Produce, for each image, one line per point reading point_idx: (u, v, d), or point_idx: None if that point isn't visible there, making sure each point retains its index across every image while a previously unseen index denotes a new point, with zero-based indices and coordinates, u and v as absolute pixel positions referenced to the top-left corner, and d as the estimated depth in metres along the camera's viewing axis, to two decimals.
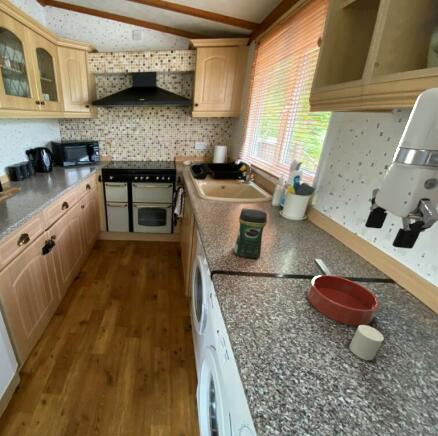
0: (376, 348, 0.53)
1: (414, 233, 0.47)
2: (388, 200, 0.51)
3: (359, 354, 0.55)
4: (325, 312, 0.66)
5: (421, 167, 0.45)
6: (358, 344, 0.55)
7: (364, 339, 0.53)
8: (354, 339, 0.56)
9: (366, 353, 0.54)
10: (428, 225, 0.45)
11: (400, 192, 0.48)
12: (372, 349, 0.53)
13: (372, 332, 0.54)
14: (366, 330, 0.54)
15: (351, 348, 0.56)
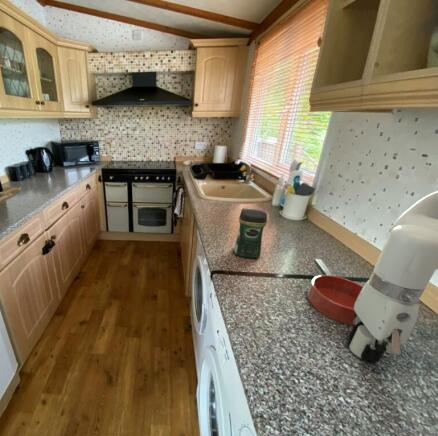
0: None
1: (379, 351, 0.51)
2: (365, 316, 0.53)
3: (359, 354, 0.55)
4: (325, 312, 0.66)
5: (394, 300, 0.47)
6: (358, 344, 0.55)
7: (364, 339, 0.53)
8: (354, 339, 0.56)
9: None
10: None
11: (375, 315, 0.50)
12: None
13: None
14: (366, 330, 0.54)
15: (351, 348, 0.56)
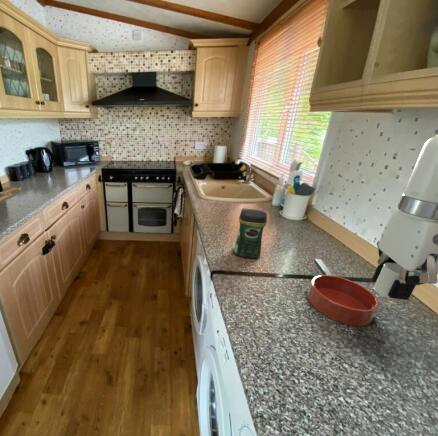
0: None
1: (410, 286, 0.46)
2: (393, 249, 0.47)
3: (386, 293, 0.49)
4: (325, 312, 0.66)
5: (429, 220, 0.41)
6: (385, 282, 0.49)
7: (391, 275, 0.48)
8: (379, 278, 0.50)
9: None
10: (423, 282, 0.44)
11: (406, 243, 0.45)
12: None
13: None
14: (393, 266, 0.49)
15: (376, 289, 0.51)
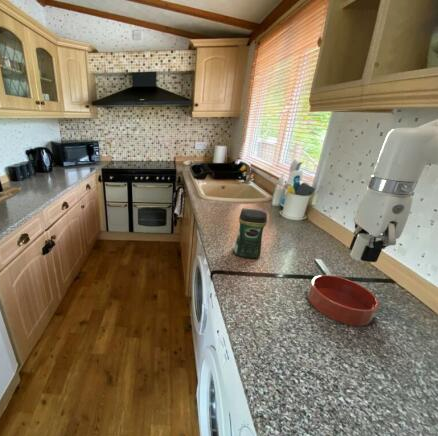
0: None
1: (377, 250, 0.57)
2: (364, 220, 0.59)
3: (359, 257, 0.60)
4: (325, 312, 0.66)
5: (390, 194, 0.52)
6: (358, 248, 0.60)
7: (363, 242, 0.59)
8: (354, 246, 0.62)
9: None
10: (386, 245, 0.55)
11: (373, 214, 0.56)
12: None
13: None
14: (365, 236, 0.60)
15: (352, 255, 0.62)
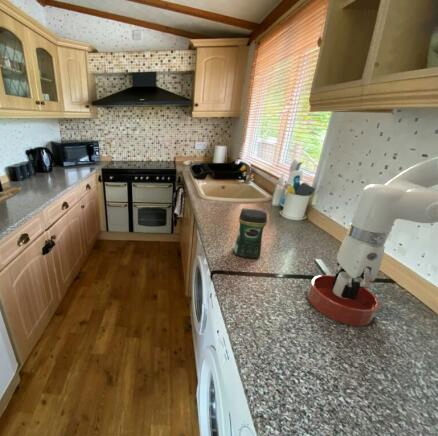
0: None
1: (355, 289, 0.64)
2: (344, 262, 0.65)
3: (340, 294, 0.67)
4: (325, 312, 0.66)
5: (365, 243, 0.59)
6: (339, 286, 0.67)
7: (343, 281, 0.66)
8: (336, 283, 0.68)
9: None
10: (362, 286, 0.61)
11: (351, 258, 0.62)
12: None
13: None
14: (345, 275, 0.67)
15: (334, 291, 0.69)
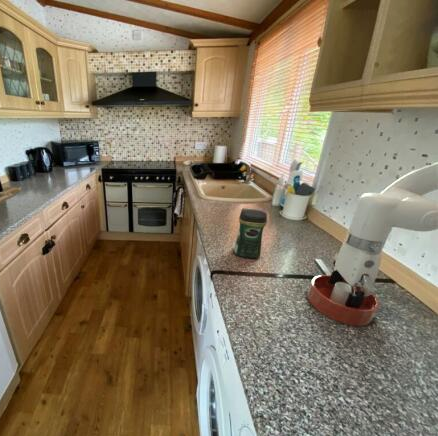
0: None
1: (359, 298, 0.62)
2: (342, 269, 0.66)
3: None
4: (325, 312, 0.66)
5: (362, 251, 0.60)
6: (335, 296, 0.68)
7: (339, 291, 0.67)
8: (332, 293, 0.69)
9: (341, 303, 0.67)
10: (367, 295, 0.59)
11: (349, 266, 0.63)
12: (346, 299, 0.67)
13: (346, 286, 0.68)
14: (341, 285, 0.68)
15: None
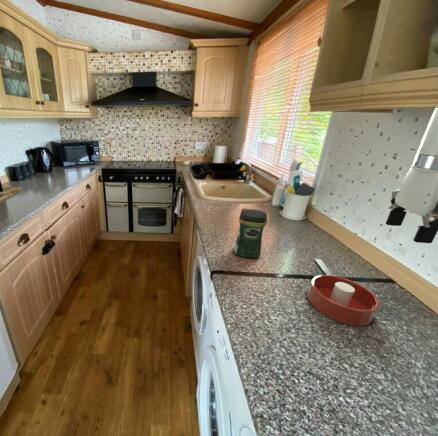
0: (349, 298, 0.67)
1: (434, 229, 0.53)
2: (409, 200, 0.57)
3: None
4: (325, 312, 0.66)
5: None
6: (335, 296, 0.68)
7: (339, 291, 0.67)
8: (332, 293, 0.69)
9: (341, 303, 0.67)
10: None
11: (420, 193, 0.54)
12: (346, 299, 0.67)
13: (346, 286, 0.68)
14: (341, 285, 0.68)
15: None
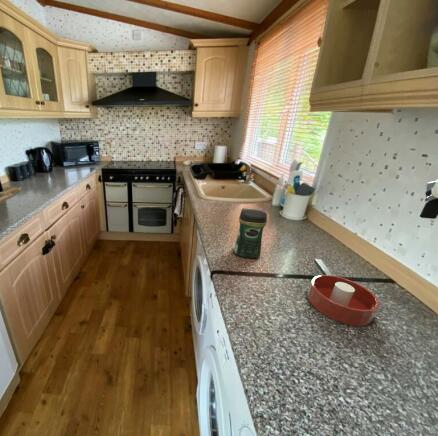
0: (349, 298, 0.67)
1: None
2: None
3: None
4: (325, 312, 0.66)
5: None
6: (335, 296, 0.68)
7: (339, 291, 0.67)
8: (332, 293, 0.69)
9: (341, 303, 0.67)
10: None
11: None
12: (346, 299, 0.67)
13: (346, 286, 0.68)
14: (341, 285, 0.68)
15: None
